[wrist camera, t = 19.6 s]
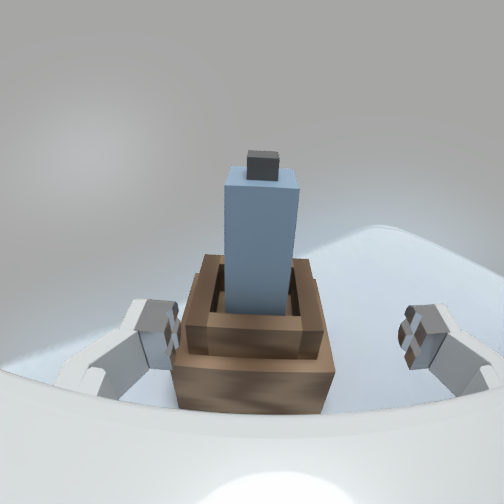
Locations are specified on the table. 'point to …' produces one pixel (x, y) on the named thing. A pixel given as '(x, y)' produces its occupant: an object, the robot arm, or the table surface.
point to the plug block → (259, 235)
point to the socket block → (253, 350)
